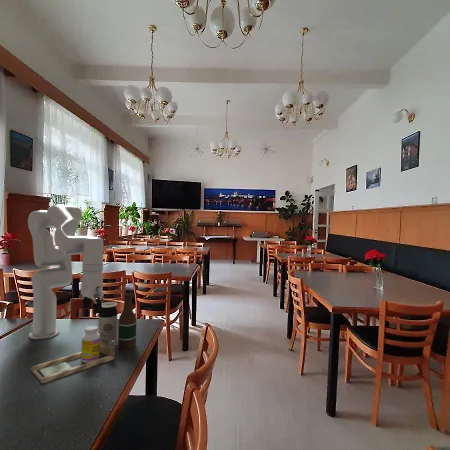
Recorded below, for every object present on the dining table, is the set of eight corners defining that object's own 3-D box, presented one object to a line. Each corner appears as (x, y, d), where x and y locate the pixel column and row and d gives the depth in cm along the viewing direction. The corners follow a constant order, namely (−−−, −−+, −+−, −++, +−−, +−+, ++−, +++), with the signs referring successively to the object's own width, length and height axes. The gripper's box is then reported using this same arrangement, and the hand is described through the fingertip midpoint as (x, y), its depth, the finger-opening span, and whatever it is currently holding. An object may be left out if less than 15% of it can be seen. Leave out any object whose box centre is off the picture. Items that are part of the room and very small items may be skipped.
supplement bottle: (92, 364, 116) (93, 331, 115) (77, 362, 117) (78, 329, 117) (102, 356, 122) (103, 325, 122) (88, 355, 123) (89, 324, 123)
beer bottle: (120, 343, 136) (121, 291, 136) (137, 343, 137) (139, 291, 136) (115, 350, 128) (116, 295, 128) (133, 350, 129) (135, 295, 129)
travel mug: (101, 340, 139) (101, 302, 139) (118, 340, 140) (119, 301, 139) (95, 347, 131) (96, 306, 131) (114, 347, 132) (115, 306, 131)
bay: (43, 385, 100) (44, 363, 100) (31, 370, 110) (31, 350, 110) (117, 359, 120) (118, 341, 120) (102, 349, 129) (102, 332, 129)
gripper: (74, 266, 122) (73, 307, 122) (92, 271, 111) (92, 317, 111) (92, 264, 128) (91, 304, 128) (112, 269, 116) (111, 313, 116)
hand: (91, 310), depth 119 cm, fingers open, 9 cm apart
